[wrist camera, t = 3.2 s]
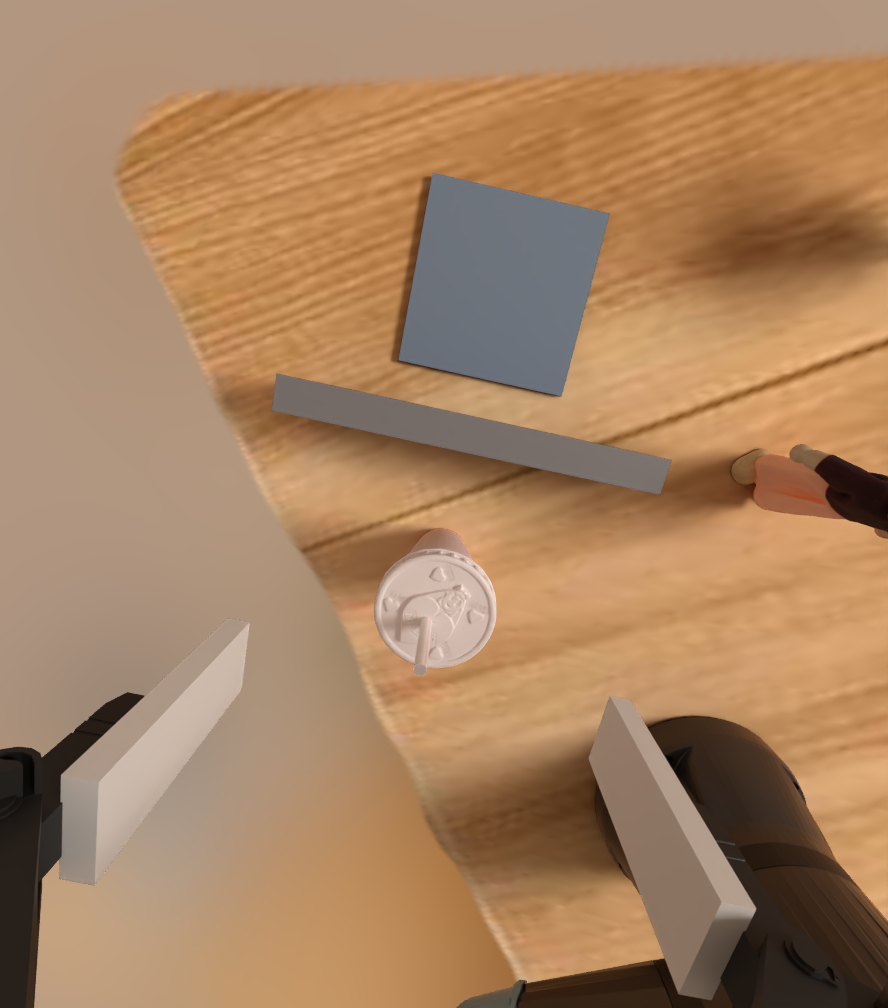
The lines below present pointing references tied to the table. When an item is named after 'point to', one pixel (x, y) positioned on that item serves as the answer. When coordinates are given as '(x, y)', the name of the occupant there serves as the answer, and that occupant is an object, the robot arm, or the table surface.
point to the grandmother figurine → (815, 486)
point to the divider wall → (469, 434)
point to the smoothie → (435, 604)
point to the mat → (500, 284)
